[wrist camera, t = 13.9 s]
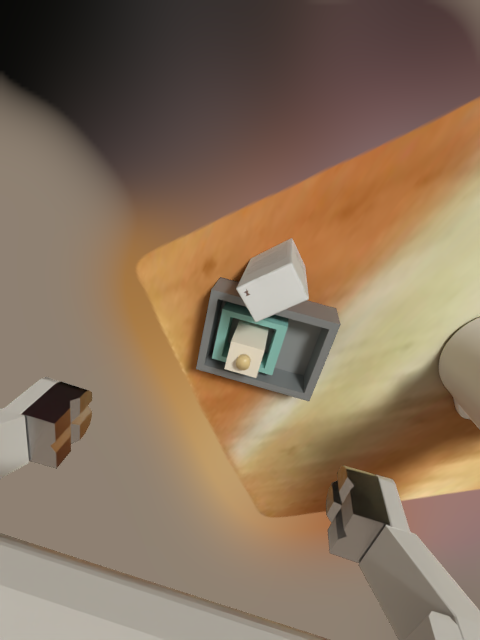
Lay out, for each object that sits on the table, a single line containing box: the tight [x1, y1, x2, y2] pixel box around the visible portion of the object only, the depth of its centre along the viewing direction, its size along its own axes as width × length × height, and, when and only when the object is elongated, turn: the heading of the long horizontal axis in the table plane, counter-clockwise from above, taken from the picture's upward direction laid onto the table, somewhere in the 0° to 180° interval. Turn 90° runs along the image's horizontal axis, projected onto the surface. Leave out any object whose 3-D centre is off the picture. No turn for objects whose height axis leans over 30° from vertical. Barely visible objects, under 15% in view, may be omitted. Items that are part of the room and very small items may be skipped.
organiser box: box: [196, 277, 340, 401], centre depth 44 cm, size 16×12×5 cm
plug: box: [224, 320, 269, 378], centre depth 42 cm, size 4×4×9 cm
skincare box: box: [236, 238, 309, 322], centre depth 37 cm, size 6×4×12 cm
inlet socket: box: [212, 302, 288, 375], centre depth 44 cm, size 8×8×4 cm
